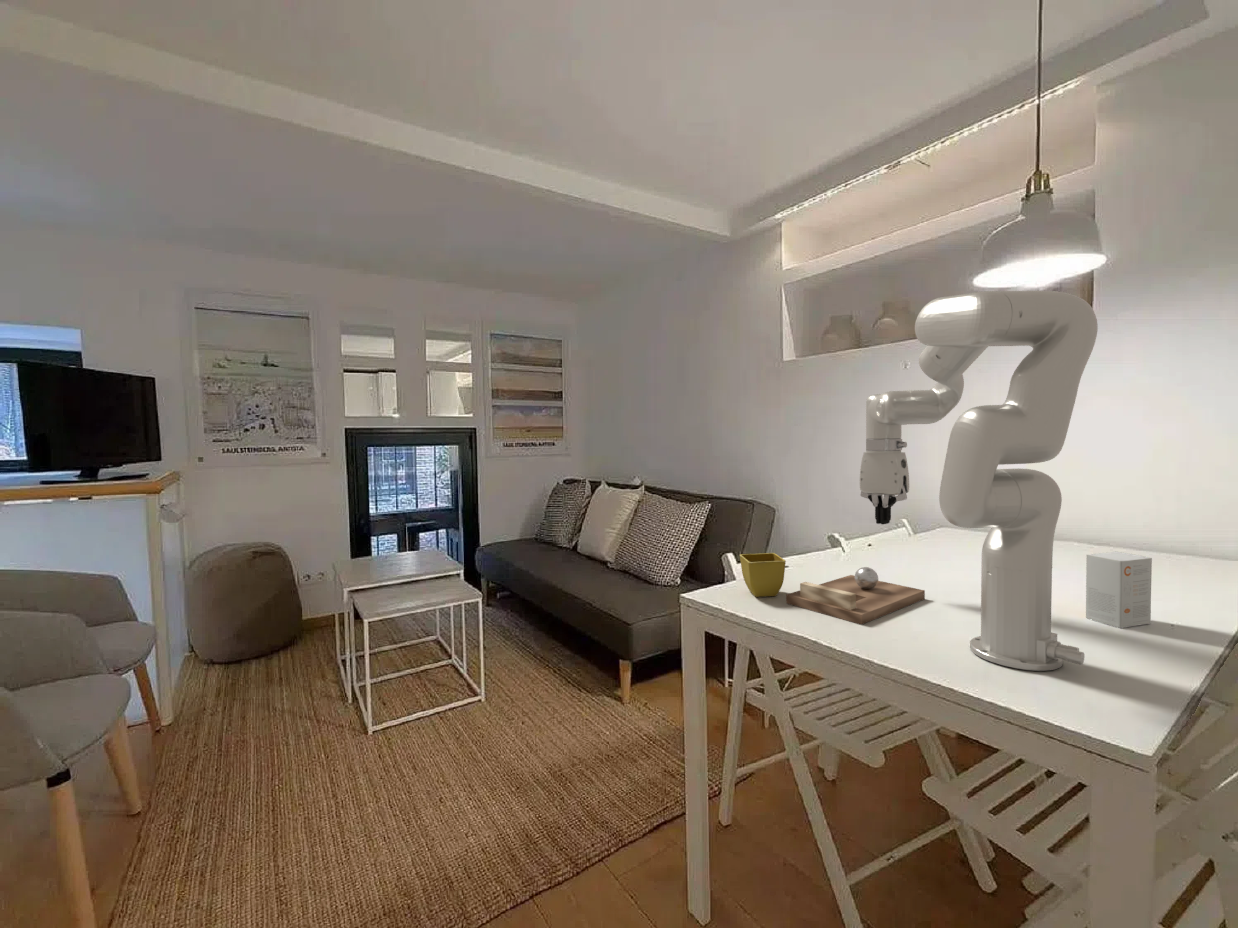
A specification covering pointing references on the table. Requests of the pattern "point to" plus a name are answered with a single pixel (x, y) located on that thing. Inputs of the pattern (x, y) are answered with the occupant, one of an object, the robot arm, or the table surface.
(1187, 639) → the table surface
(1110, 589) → the small box
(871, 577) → the steel ball
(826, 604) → the walnut board
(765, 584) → the flower pot
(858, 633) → the table surface
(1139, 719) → the table surface
